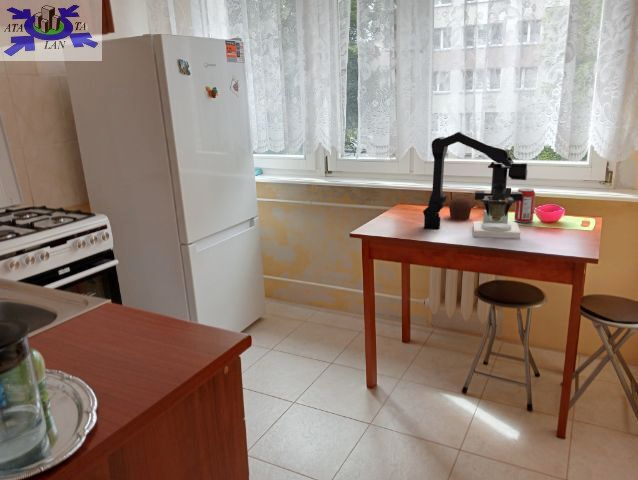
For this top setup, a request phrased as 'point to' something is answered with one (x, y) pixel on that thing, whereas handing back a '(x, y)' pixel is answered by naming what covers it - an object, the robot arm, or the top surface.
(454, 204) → the muffin
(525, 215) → the soda can
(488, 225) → the scale
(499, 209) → the ornate brown lamp shade
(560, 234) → the top surface
